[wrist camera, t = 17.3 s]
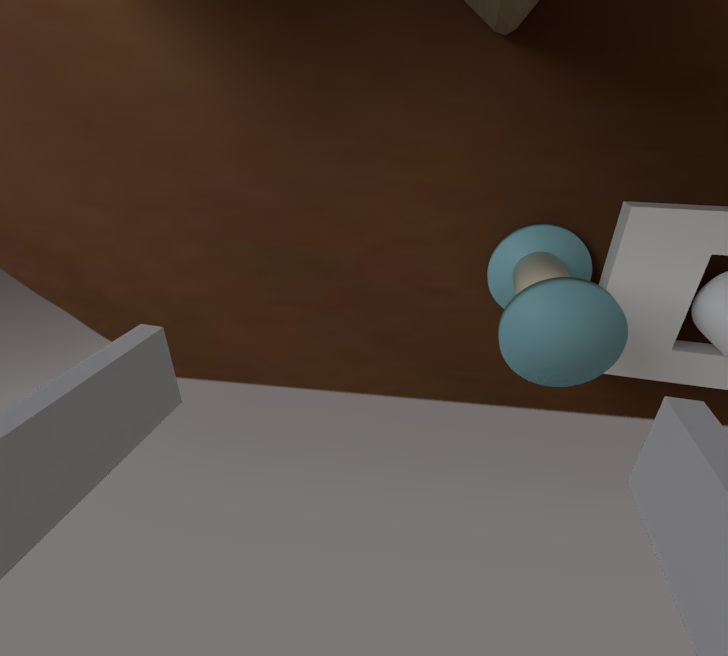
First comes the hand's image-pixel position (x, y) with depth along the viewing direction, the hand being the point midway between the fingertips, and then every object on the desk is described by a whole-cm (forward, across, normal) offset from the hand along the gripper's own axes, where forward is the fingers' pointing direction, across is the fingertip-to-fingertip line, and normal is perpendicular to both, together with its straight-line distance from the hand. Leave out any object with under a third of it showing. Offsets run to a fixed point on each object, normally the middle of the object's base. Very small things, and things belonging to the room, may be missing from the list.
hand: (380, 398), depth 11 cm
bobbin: (+27, +8, -5) cm, 28 cm away
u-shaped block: (+27, +20, -6) cm, 34 cm away
